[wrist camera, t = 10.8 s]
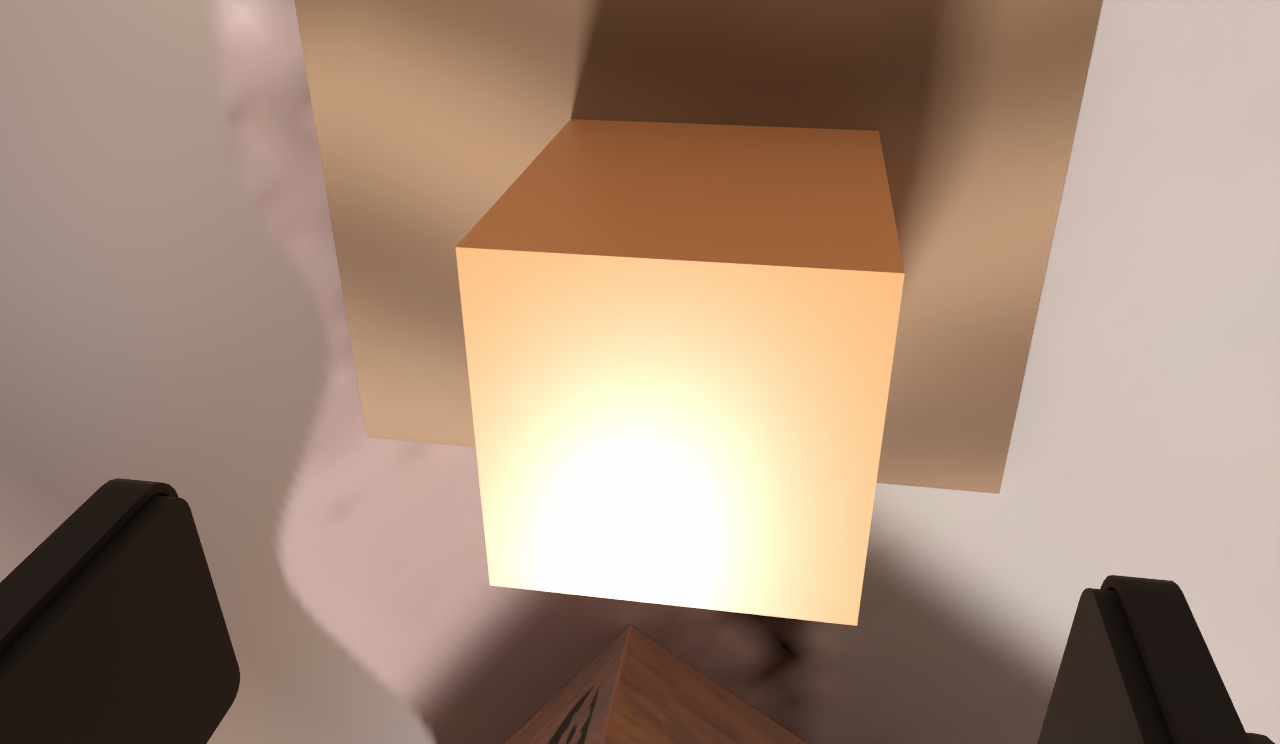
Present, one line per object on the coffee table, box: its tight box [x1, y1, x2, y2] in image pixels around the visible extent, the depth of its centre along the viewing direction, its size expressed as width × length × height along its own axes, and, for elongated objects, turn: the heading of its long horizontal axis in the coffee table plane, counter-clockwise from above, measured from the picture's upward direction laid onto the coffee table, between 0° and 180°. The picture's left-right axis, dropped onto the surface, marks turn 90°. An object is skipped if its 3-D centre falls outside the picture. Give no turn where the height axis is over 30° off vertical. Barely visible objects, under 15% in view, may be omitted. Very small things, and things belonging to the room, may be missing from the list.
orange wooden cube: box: [456, 119, 905, 626], centre depth 17 cm, size 6×6×7 cm
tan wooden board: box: [295, 0, 1103, 494], centre depth 19 cm, size 20×15×1 cm
